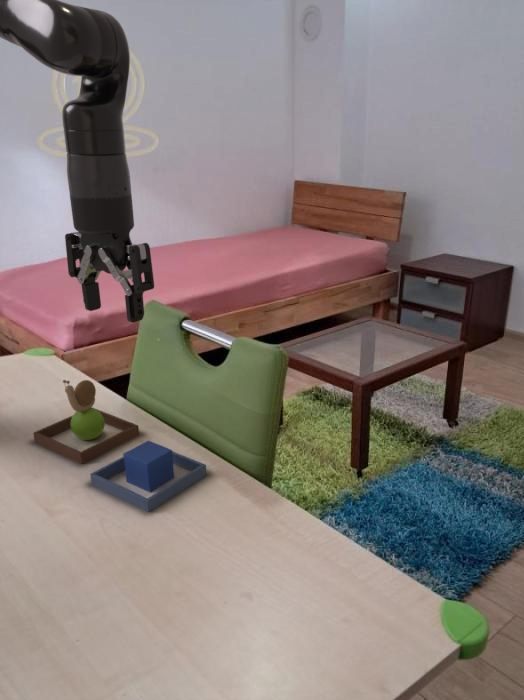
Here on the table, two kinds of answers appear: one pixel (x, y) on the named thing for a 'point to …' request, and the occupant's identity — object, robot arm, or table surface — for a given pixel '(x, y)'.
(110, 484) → the blue tray
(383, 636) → the table surface
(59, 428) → the brown tray
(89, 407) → the snail figurine
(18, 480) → the table surface
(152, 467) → the blue block
